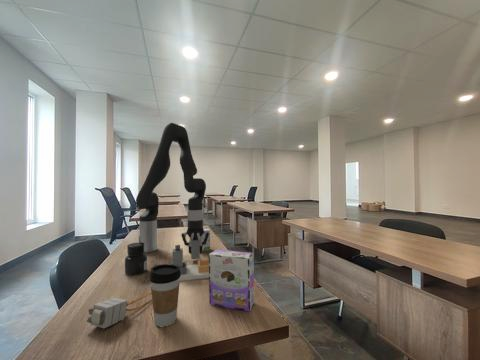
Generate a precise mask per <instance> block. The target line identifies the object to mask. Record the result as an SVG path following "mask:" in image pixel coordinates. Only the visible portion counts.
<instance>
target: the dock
mask: <svg viewBox="0 0 480 360" xmlns="http://www.w3.org/2000/svg"><path fill="white" fill-rule="evenodd" d="M174 246H175V248H173V249H172V255H171V256H172V262H170V263H169V265H176V266H178V267H179V268H180V272H181V274H180V275H181V276H180V278H179V282H182V281H192V280H202V279H203V280H204V279H209V259H203V260H197V263H196V264H189V265H188V263H187V261H184V250H183V248H182V247H181V244H175V245H174Z"/></svg>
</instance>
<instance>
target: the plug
mask: <svg viewBox="0 0 480 360" xmlns="http://www.w3.org/2000/svg"><path fill="white" fill-rule="evenodd" d="M191 240H192V239H191ZM190 255H191V256H190V259H191V260H200V258H201V257H200V256H201V253H200V240H198V239H194V240H192V241H191V254H190Z"/></svg>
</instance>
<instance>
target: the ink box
mask: <svg viewBox="0 0 480 360" xmlns="http://www.w3.org/2000/svg"><path fill="white" fill-rule="evenodd" d="M203 230H204V231H205V232H209V236H208V239H207V242H206V244H204V245H203V246H202V252H210V251H211V230H210V229H209V228H203ZM204 238H205V236H204V233H203V235H202V236H201V241H202V242H203V241H204ZM202 252H201V253H202Z"/></svg>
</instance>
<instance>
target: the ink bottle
mask: <svg viewBox="0 0 480 360" xmlns="http://www.w3.org/2000/svg"><path fill="white" fill-rule="evenodd" d="M126 247H127V248H126V249H127V251H126V252H127V256H125V257H124V273H125V275H127V276H132V277H133V276H139V275H142V274H144V273H146V272H147V271H148V256H147V254H146V253H144V243H141V242H139V241H138V242H131V243H129V244H127V245H126Z"/></svg>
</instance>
